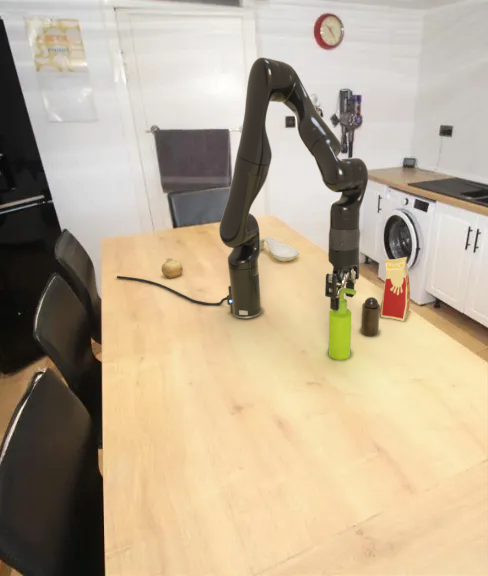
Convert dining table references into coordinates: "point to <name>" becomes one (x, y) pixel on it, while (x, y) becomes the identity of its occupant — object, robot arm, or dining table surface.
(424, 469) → the dining table surface
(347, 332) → the soap dispenser
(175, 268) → the onion
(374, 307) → the pepper mill
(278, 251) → the spoon rest
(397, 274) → the red cream snack bag
